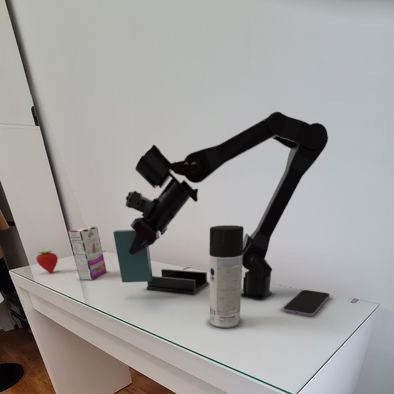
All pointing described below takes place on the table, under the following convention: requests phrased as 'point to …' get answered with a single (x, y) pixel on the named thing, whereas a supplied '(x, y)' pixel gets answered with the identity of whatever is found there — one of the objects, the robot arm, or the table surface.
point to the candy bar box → (88, 252)
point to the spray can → (225, 275)
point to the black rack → (179, 281)
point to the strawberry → (47, 260)
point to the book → (132, 258)
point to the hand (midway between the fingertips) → (131, 252)
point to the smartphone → (306, 303)
